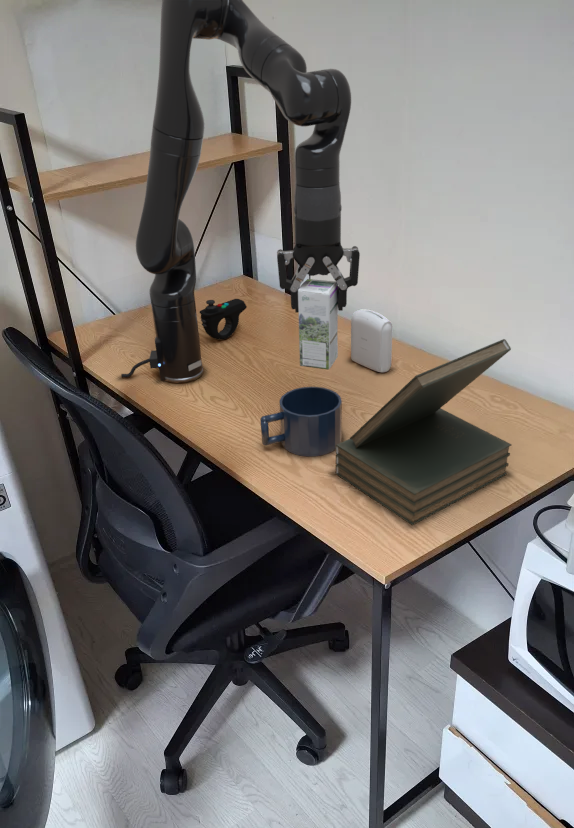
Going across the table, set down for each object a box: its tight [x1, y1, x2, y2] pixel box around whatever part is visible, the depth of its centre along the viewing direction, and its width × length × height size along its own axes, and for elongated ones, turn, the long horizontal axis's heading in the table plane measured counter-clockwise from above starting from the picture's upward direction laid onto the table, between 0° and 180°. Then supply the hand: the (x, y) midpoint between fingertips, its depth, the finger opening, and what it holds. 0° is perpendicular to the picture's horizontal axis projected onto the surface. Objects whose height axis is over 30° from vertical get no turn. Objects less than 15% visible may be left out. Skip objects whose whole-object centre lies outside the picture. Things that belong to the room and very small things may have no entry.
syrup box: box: [298, 278, 339, 371], centre depth 137 cm, size 6×6×14 cm
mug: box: [259, 386, 343, 457], centre depth 146 cm, size 16×11×8 cm
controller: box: [199, 298, 247, 341], centre depth 186 cm, size 4×12×10 cm, turn 133°
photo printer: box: [350, 308, 393, 374], centre depth 170 cm, size 10×4×12 cm, turn 39°
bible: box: [335, 338, 513, 526], centre depth 131 cm, size 23×20×25 cm
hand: (318, 309), depth 135 cm, fingers closed on syrup box, 7 cm apart
